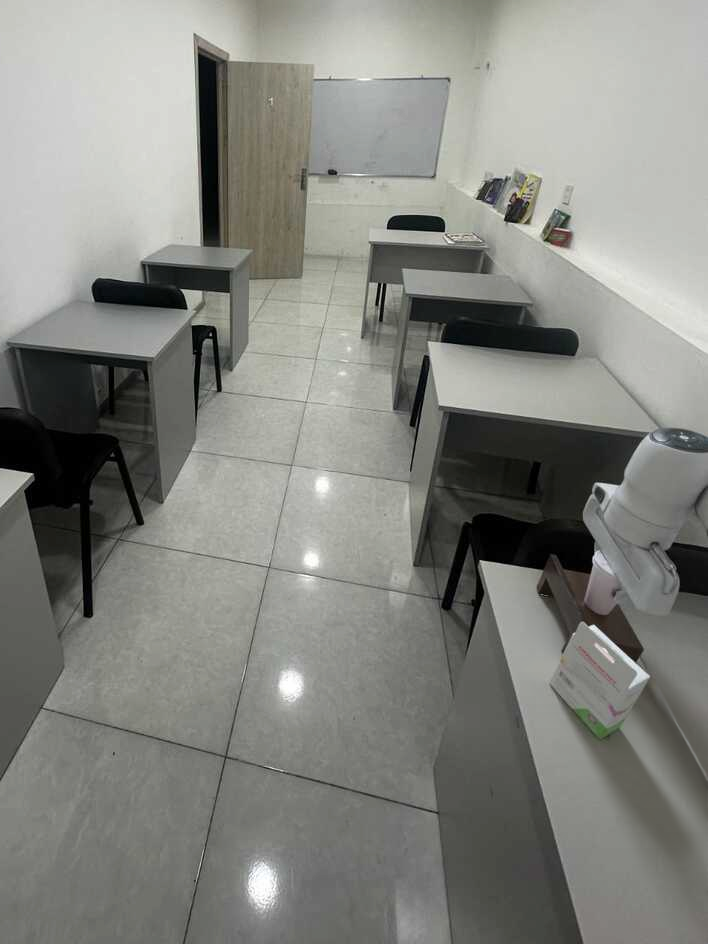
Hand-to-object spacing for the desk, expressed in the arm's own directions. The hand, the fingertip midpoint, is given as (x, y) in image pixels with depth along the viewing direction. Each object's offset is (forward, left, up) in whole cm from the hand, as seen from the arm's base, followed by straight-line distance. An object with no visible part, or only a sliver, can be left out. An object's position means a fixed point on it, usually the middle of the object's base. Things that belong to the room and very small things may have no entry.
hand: (607, 583), depth 81 cm
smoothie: (0, 0, -5) cm, 5 cm away
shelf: (+1, 0, -11) cm, 11 cm away
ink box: (+6, +14, -12) cm, 19 cm away
